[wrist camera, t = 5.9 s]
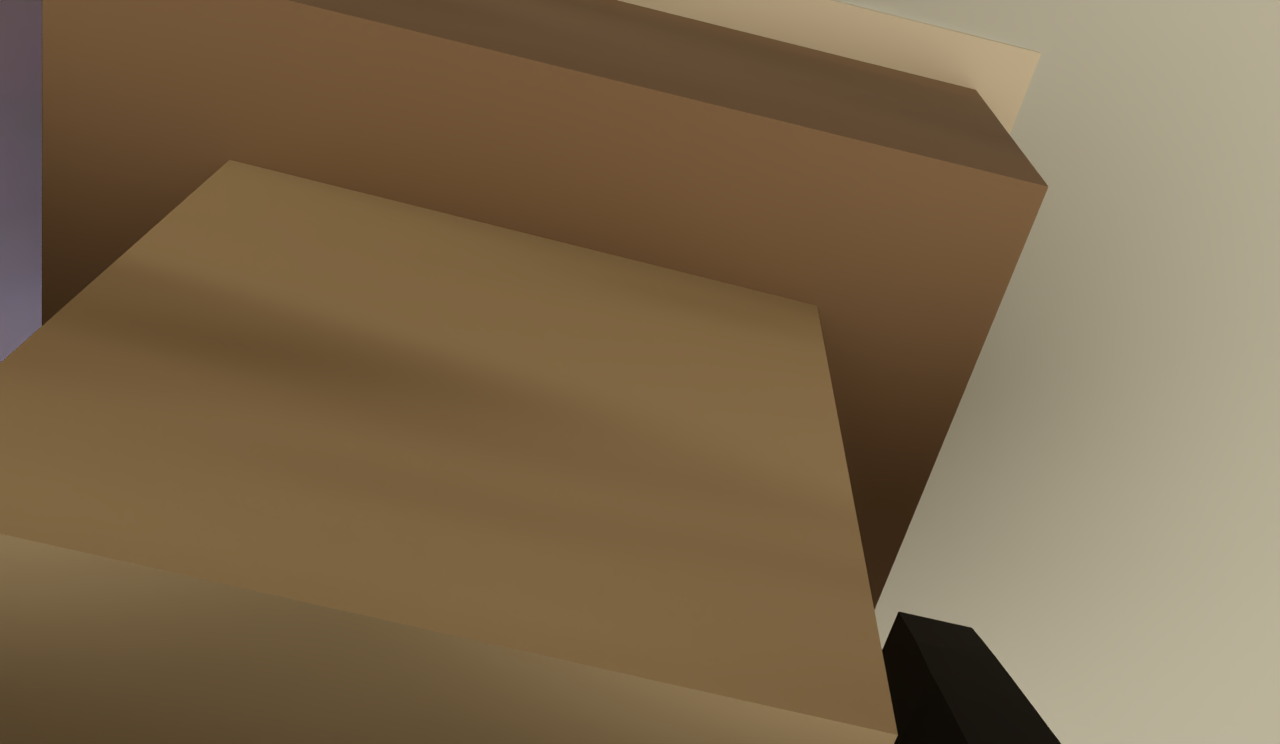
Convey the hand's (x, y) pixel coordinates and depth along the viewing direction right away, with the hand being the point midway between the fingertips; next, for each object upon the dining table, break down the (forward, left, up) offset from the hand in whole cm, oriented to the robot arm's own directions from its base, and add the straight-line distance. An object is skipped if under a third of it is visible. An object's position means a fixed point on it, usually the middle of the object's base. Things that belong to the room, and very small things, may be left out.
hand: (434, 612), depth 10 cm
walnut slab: (0, 0, -5) cm, 5 cm away
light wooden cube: (0, 0, -2) cm, 2 cm away
